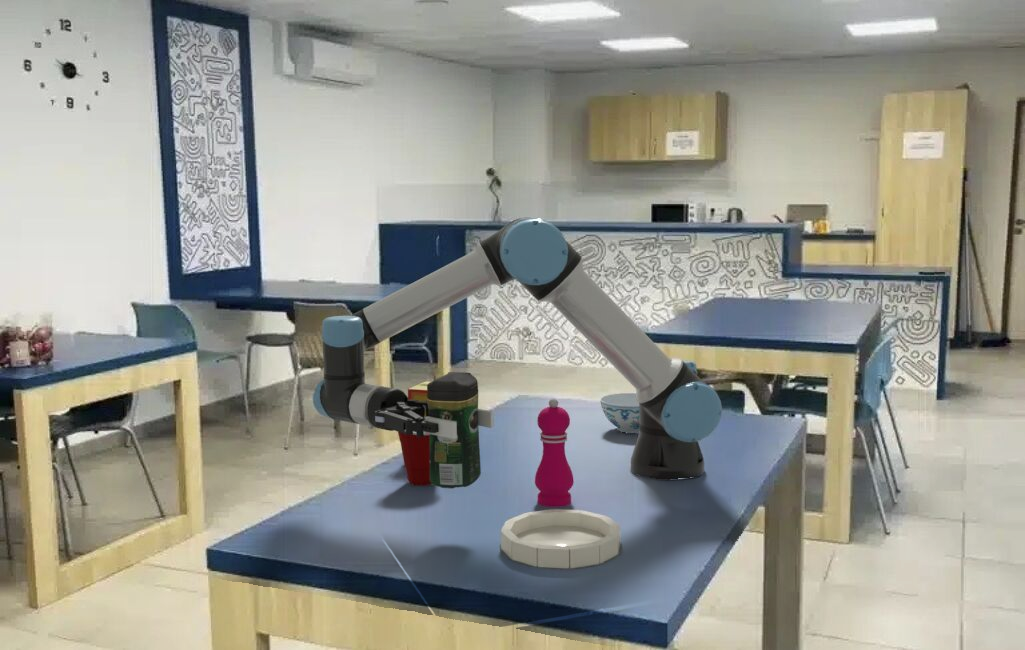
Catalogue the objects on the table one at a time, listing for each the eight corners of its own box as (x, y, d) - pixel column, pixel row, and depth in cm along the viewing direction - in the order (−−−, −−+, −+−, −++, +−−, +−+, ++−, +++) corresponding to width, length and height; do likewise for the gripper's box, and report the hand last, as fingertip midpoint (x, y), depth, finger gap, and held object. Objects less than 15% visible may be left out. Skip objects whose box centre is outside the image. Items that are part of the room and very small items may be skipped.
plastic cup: (442, 491, 192) (441, 431, 191) (389, 488, 194) (387, 429, 193) (456, 475, 203) (455, 418, 201) (406, 473, 205) (404, 417, 203)
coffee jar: (442, 472, 172) (440, 368, 170) (485, 475, 170) (483, 369, 167) (422, 488, 163) (419, 378, 160) (468, 491, 161) (465, 380, 158)
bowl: (589, 520, 172) (589, 504, 172) (639, 557, 155) (640, 539, 154) (487, 535, 166) (486, 517, 165) (527, 575, 148) (527, 556, 148)
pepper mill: (578, 499, 186) (577, 395, 183) (567, 511, 179) (566, 403, 176) (541, 496, 188) (540, 393, 185) (530, 507, 181) (528, 401, 179)
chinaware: (666, 437, 231) (666, 405, 230) (602, 438, 231) (602, 406, 230) (657, 422, 246) (658, 392, 245) (598, 423, 246) (598, 393, 245)
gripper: (423, 416, 185) (515, 434, 171) (335, 439, 169) (429, 461, 154) (422, 377, 184) (515, 392, 170) (333, 396, 168) (428, 414, 153)
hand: (474, 424), depth 162 cm, fingers closed on coffee jar, 8 cm apart
